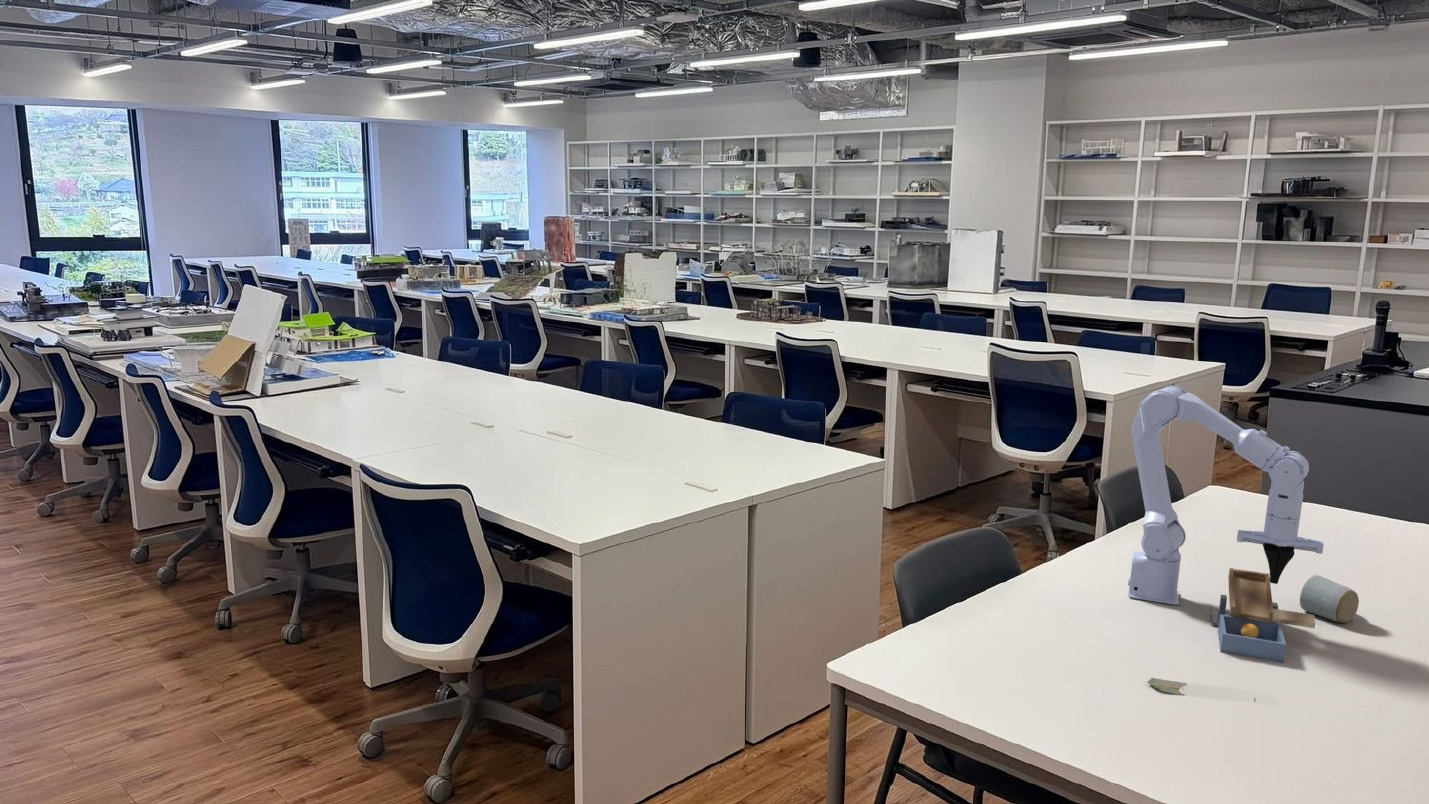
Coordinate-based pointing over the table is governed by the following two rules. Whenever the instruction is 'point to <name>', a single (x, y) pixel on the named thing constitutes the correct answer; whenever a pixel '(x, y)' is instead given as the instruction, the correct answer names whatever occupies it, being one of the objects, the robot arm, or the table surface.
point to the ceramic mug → (1329, 599)
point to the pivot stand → (1222, 609)
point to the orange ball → (1249, 630)
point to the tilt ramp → (1259, 600)
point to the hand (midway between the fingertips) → (1273, 581)
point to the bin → (1251, 639)
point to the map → (1168, 685)
